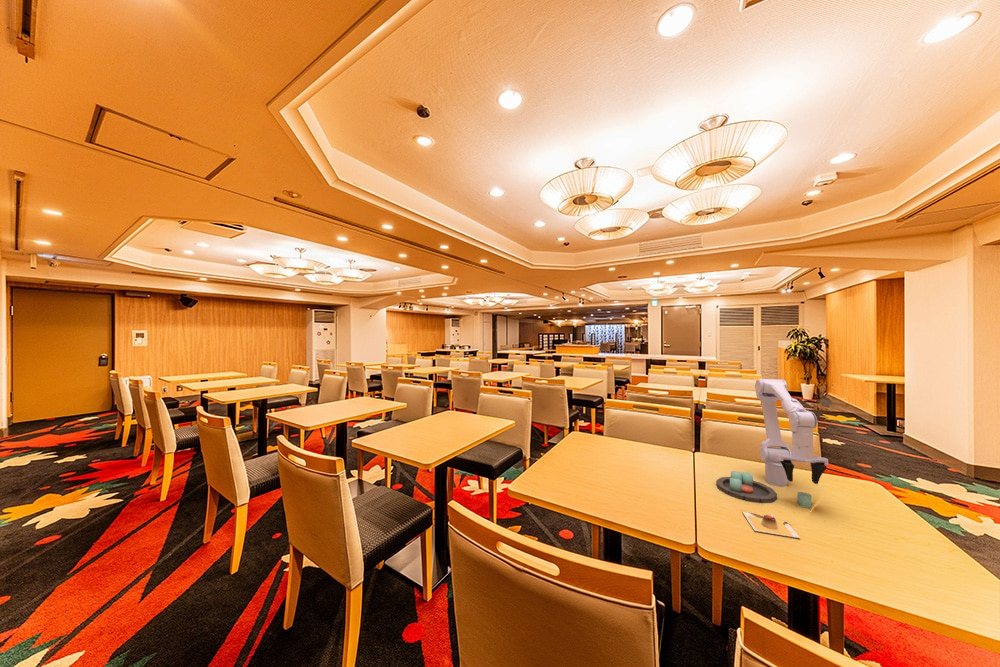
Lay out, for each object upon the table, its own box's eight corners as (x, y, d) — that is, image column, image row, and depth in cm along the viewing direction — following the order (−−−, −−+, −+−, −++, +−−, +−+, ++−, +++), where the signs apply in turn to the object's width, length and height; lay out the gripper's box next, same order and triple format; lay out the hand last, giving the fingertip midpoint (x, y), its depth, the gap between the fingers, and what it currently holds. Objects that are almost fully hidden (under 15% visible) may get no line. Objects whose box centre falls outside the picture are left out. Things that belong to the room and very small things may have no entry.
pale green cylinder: (743, 483, 142) (743, 471, 142) (754, 487, 139) (754, 474, 139) (740, 486, 140) (740, 474, 140) (751, 489, 137) (751, 477, 137)
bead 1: (732, 482, 144) (732, 470, 143) (743, 485, 140) (743, 473, 140) (729, 484, 141) (729, 472, 141) (739, 488, 138) (739, 475, 138)
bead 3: (798, 504, 127) (798, 490, 127) (812, 508, 124) (812, 494, 124) (795, 507, 125) (796, 493, 125) (809, 511, 122) (809, 497, 122)
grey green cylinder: (739, 491, 135) (739, 478, 135) (742, 495, 132) (742, 482, 132) (728, 489, 137) (728, 477, 137) (731, 494, 133) (731, 481, 133)
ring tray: (727, 478, 149) (727, 473, 149) (782, 495, 134) (782, 489, 134) (708, 491, 138) (708, 485, 138) (766, 511, 123) (766, 504, 123)
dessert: (754, 533, 110) (754, 519, 110) (742, 514, 121) (742, 501, 121) (800, 541, 106) (800, 526, 106) (783, 521, 117) (783, 507, 117)
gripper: (784, 446, 123) (784, 484, 123) (834, 450, 119) (833, 489, 119) (774, 440, 130) (774, 476, 130) (821, 443, 126) (821, 480, 126)
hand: (802, 481), depth 125 cm, fingers open, 7 cm apart
